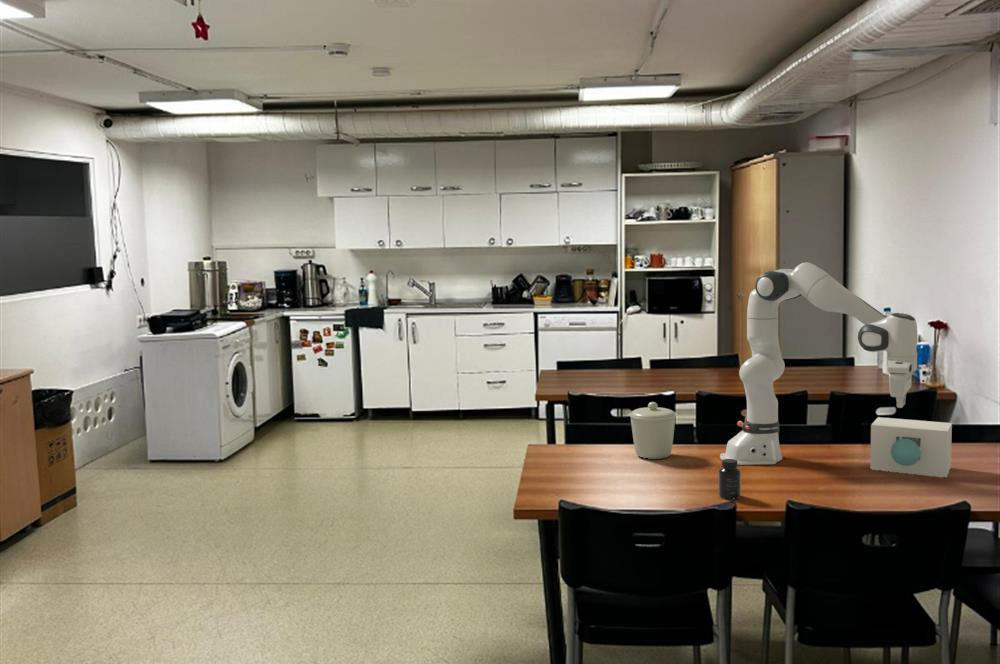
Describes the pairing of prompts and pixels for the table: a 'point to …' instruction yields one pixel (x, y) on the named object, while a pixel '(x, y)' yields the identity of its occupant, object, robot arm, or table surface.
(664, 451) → the canister
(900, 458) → the knob
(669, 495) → the table surface
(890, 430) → the knob mount
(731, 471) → the supplement bottle
